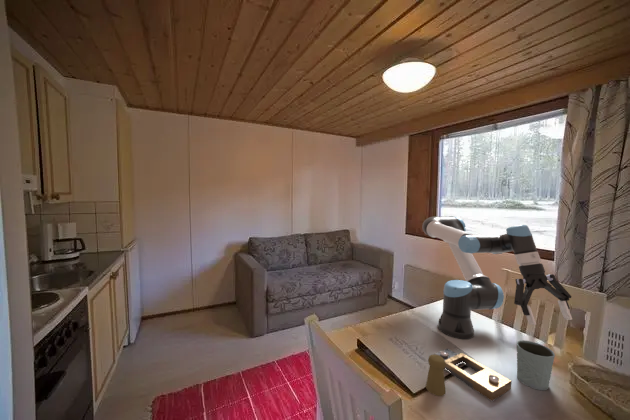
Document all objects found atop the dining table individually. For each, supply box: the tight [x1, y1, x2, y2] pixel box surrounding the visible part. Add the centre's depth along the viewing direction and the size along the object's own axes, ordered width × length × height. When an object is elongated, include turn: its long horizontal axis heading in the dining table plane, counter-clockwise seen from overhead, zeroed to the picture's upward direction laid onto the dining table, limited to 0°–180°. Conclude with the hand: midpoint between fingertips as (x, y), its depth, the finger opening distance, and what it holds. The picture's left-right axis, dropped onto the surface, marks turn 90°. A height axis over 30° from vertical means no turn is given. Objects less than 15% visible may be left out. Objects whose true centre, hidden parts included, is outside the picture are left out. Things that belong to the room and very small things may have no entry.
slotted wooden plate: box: [434, 348, 512, 402], centre depth 95 cm, size 23×11×4 cm, turn 28°
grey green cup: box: [516, 340, 556, 391], centre depth 91 cm, size 10×10×12 cm
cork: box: [425, 353, 447, 397], centre depth 87 cm, size 6×6×11 cm
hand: (550, 321), depth 97 cm, fingers open, 13 cm apart
